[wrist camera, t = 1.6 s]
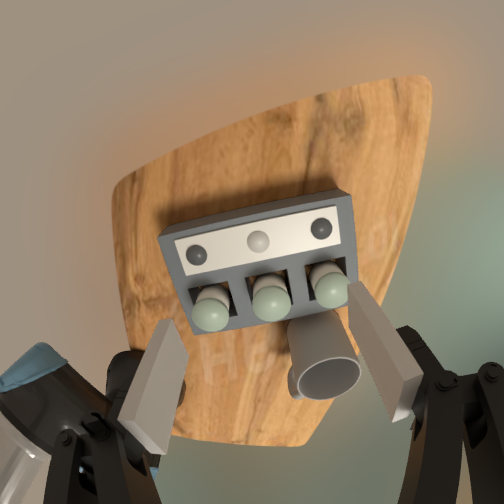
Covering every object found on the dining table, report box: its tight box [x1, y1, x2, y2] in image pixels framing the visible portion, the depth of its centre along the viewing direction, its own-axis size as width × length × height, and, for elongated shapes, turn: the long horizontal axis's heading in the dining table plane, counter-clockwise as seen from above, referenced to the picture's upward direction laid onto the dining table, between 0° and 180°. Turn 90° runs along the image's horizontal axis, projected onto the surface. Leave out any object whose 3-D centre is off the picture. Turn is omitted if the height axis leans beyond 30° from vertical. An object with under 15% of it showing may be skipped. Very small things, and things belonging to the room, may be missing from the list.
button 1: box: [309, 260, 351, 308], centre depth 31 cm, size 4×4×4 cm
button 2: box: [192, 284, 230, 332], centre depth 32 cm, size 4×4×4 cm
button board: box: [157, 189, 359, 335], centre depth 33 cm, size 22×14×4 cm, turn 103°
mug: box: [287, 310, 361, 400], centre depth 35 cm, size 12×8×11 cm
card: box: [174, 205, 341, 276], centre depth 30 cm, size 18×4×1 cm, turn 103°
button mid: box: [252, 272, 291, 322], centre depth 31 cm, size 4×4×4 cm
